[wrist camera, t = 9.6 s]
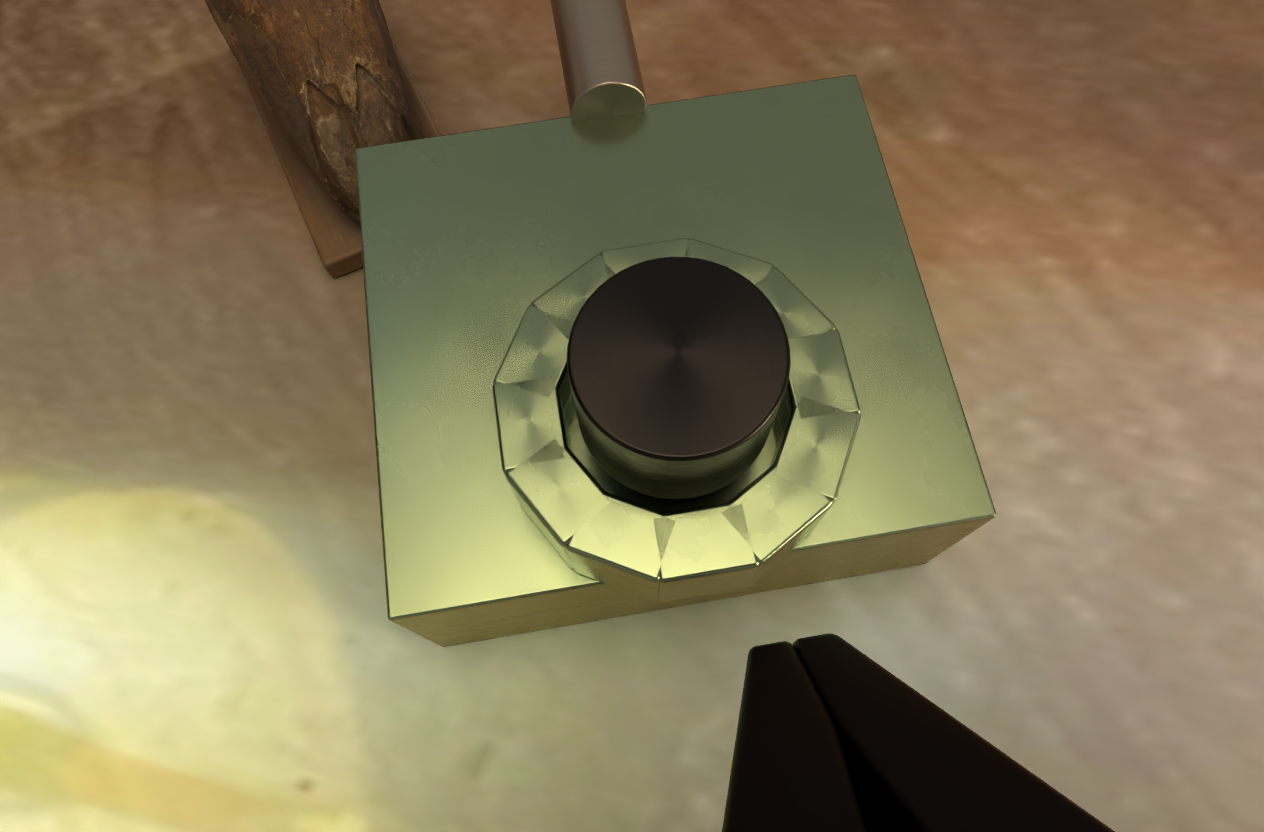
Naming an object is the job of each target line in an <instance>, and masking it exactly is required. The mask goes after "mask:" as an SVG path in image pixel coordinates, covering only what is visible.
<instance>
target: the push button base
mask: <svg viewBox="0 0 1264 832" xmlns="http://www.w3.org/2000/svg"><path fill="white" fill-rule="evenodd" d="M355 157H356V171H357V185H358V200H359V214H360V228H361V242H362V257H363V271H364V285H365V300H366V314H367V328H368V342H369V357H370V371H371V385H372V399H373V414H374V428H375V442H376V456H377V471H378V485H379V499H380V514H381V528H382V542H383V556H384V571H385V585H386V599H387V613H388V619H389V620H390V621H392V622H394V623H396V624H398V625H400V626H402V627H404V628H406V629H408V630H410V631H412V632H414V633H416V634H418V635H420V636H422V637H424V638H426V639H428V640H430V641H432V642H434V643H436V644H438V645H440V646H443V647H446V646H452V645H457V644H463V643H469V642H475V641H481V640H486V639H492V638H498V637H504V636H510V635H515V634H521V633H527V632H533V631H539V630H544V629H550V628H556V627H562V626H568V625H573V624H579V623H585V622H591V621H597V620H602V619H608V618H614V617H620V616H626V615H631V614H637V613H643V612H649V611H655V610H660V609H666V608H672V607H678V606H684V605H689V604H695V603H701V602H707V601H713V600H718V599H724V598H730V597H736V596H741V595H747V594H753V593H759V592H765V591H770V590H776V589H782V588H788V587H794V586H799V585H805V584H811V583H817V582H823V581H828V580H834V579H840V578H846V577H852V576H857V575H863V574H869V573H875V572H881V571H886V570H892V569H898V568H904V567H910V566H915V565H921V564H925V563H927V562H928V561H930V560H931V559H933V558H934V557H936V556H937V555H939V554H940V553H942V552H943V551H945V550H946V549H948V548H949V547H951V546H952V545H954V544H955V543H957V542H958V541H960V540H961V539H963V538H964V537H966V536H967V535H969V534H970V533H972V532H973V531H975V530H976V529H978V528H979V527H981V526H982V525H984V524H985V523H987V522H988V521H990V520H991V519H993V518H994V517H996V512H995V509H994V505H993V502H992V499H991V496H990V493H989V490H988V487H987V484H986V480H985V477H984V474H983V471H982V468H981V465H980V462H979V458H978V455H977V452H976V449H975V446H974V443H973V440H972V437H971V433H970V430H969V427H968V424H967V421H966V418H965V415H964V412H963V408H962V405H961V402H960V399H959V396H958V393H957V390H956V387H955V383H954V380H953V377H952V374H951V371H950V368H949V365H948V362H947V358H946V355H945V352H944V349H943V346H942V343H941V340H940V337H939V333H938V330H937V327H936V324H935V321H934V318H933V315H932V312H931V308H930V305H929V302H928V299H927V296H926V293H925V290H924V286H923V283H922V280H921V277H920V274H919V271H918V268H917V265H916V261H915V258H914V255H913V252H912V249H911V246H910V243H909V240H908V236H907V233H906V230H905V227H904V224H903V221H902V218H901V215H900V211H899V208H898V205H897V202H896V199H895V196H894V193H893V190H892V186H891V183H890V180H889V177H888V174H887V171H886V168H885V165H884V161H883V158H882V155H881V152H880V149H879V146H878V143H877V140H876V136H875V133H874V130H873V127H872V124H871V121H870V118H869V114H868V111H867V108H866V105H865V102H864V99H863V96H862V93H861V89H860V86H859V83H858V80H857V77H856V75H848V76H841V77H834V78H827V79H821V80H814V81H807V82H800V83H794V84H787V85H780V86H773V87H767V88H760V89H753V90H746V91H740V92H733V93H726V94H719V95H713V96H706V97H699V98H692V99H685V100H679V101H672V102H665V103H658V104H652V105H647V107H646V110H645V111H644V112H637V113H630V114H623V115H617V116H610V117H603V118H596V119H590V120H583V121H576V122H574V121H573V120H572V118H571V117H564V118H557V119H550V120H544V121H537V122H530V123H523V124H517V125H510V126H503V127H496V128H490V129H483V130H476V131H469V132H463V133H456V134H449V135H442V136H436V137H429V138H422V139H415V140H409V141H402V142H395V143H388V144H381V145H375V146H368V147H361V148H357V149H356V150H355ZM663 257H692V258H699V259H704V260H708V261H712V262H715V263H718V264H720V265H723V266H726V267H728V268H730V269H732V270H734V271H736V272H738V273H739V274H741V275H742V276H744V277H745V278H747V279H748V280H750V281H751V282H752V283H753V284H754V285H755V286H757V287H758V288H759V289H760V290H761V291H762V292H763V293H764V295H765V296H766V297H767V298H768V299H769V300H770V302H771V303H772V305H773V306H774V308H775V309H776V311H777V312H778V314H779V316H780V318H781V320H782V322H783V324H784V327H785V330H786V333H787V336H788V341H789V346H790V359H791V365H790V375H789V380H788V384H787V388H786V391H785V394H784V396H783V399H782V402H781V404H780V407H779V409H778V412H777V415H776V417H775V420H774V422H773V425H772V428H771V430H770V433H769V435H768V438H767V440H766V443H765V445H764V447H763V449H762V451H761V452H760V454H759V456H758V457H757V459H756V460H755V461H754V463H753V464H752V465H751V466H750V468H749V469H747V470H746V471H745V472H744V473H743V474H742V475H741V476H740V477H739V478H737V479H736V480H735V481H733V482H732V483H730V484H729V485H727V486H725V487H723V488H721V489H719V490H717V491H714V492H712V493H709V494H706V495H702V496H698V497H694V498H685V499H665V498H658V497H653V496H649V495H646V494H642V493H639V492H637V491H635V490H632V489H630V488H628V487H626V486H625V485H623V484H621V483H619V482H618V481H616V480H615V479H614V478H613V477H611V476H610V475H609V474H607V473H606V472H605V471H604V469H603V468H602V467H601V466H600V465H599V464H598V463H597V462H596V460H595V459H594V458H593V456H592V455H591V454H590V452H589V450H588V448H587V446H586V444H585V442H584V440H583V437H582V434H581V432H580V427H579V423H578V419H577V414H576V409H575V404H574V400H573V395H572V390H571V386H570V381H569V376H568V370H567V345H568V341H569V336H570V332H571V329H572V326H573V323H574V321H575V319H576V317H577V315H578V313H579V311H580V309H581V308H582V306H583V305H584V303H585V302H586V300H587V299H588V298H589V297H590V295H591V294H592V293H593V292H594V291H595V290H596V289H597V288H598V287H599V286H600V285H602V284H603V283H604V282H605V281H606V280H608V279H609V278H610V277H612V276H613V275H615V274H617V273H618V272H620V271H622V270H624V269H626V268H628V267H630V266H632V265H635V264H638V263H641V262H643V261H647V260H652V259H656V258H663Z"/></svg>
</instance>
